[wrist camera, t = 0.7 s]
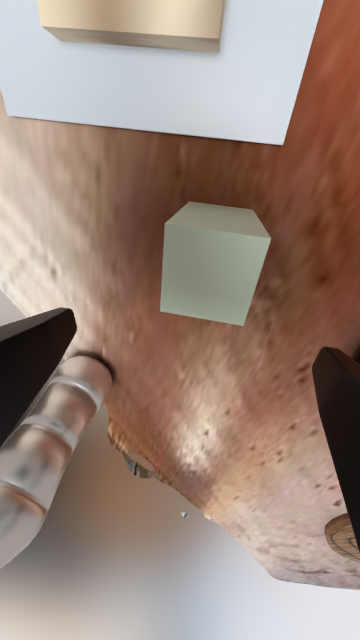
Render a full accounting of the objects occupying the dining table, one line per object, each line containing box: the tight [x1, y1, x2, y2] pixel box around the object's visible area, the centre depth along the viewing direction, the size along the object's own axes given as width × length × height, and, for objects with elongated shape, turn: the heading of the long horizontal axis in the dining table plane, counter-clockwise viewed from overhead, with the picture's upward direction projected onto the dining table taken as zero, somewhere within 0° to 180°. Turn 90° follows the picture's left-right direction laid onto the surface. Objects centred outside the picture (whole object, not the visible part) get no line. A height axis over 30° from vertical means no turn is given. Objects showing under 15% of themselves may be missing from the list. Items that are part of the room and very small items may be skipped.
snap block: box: [160, 201, 271, 326], centre depth 14 cm, size 5×5×8 cm
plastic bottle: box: [0, 356, 112, 569], centre depth 21 cm, size 6×7×20 cm
